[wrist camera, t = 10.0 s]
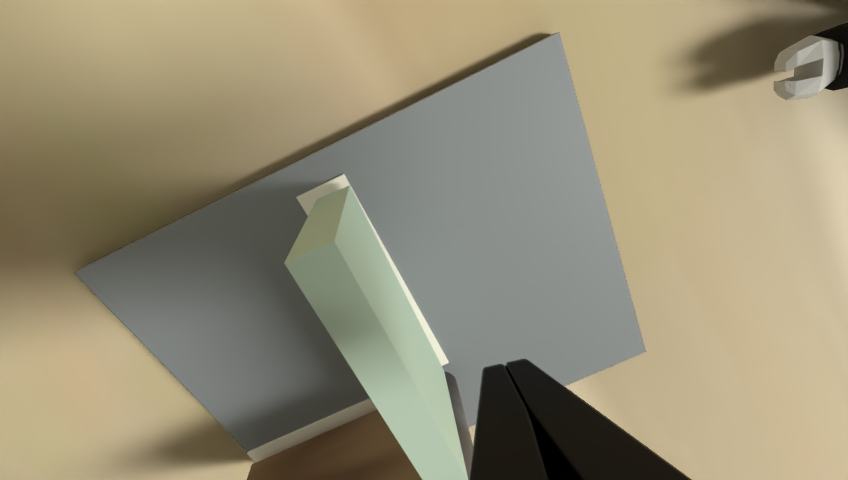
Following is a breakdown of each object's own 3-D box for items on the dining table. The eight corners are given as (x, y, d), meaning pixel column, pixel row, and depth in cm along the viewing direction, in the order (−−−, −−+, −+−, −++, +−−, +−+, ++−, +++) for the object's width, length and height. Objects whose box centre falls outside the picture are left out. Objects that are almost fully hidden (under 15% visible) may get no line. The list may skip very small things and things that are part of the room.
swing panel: (444, 370, 16) (468, 480, 12) (417, 381, 16) (431, 494, 12) (349, 185, 13) (334, 241, 8) (316, 199, 13) (283, 263, 8)
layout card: (296, 491, 19) (294, 503, 19) (83, 266, 14) (71, 274, 13) (639, 344, 18) (647, 352, 18) (552, 33, 13) (560, 31, 12)
